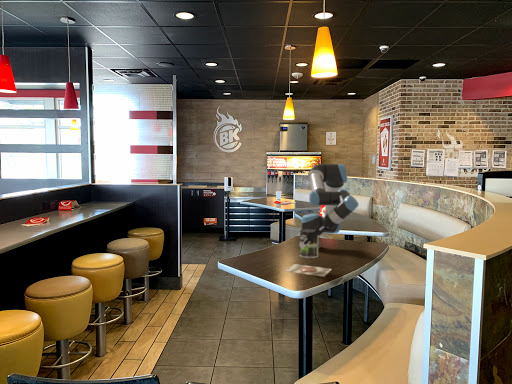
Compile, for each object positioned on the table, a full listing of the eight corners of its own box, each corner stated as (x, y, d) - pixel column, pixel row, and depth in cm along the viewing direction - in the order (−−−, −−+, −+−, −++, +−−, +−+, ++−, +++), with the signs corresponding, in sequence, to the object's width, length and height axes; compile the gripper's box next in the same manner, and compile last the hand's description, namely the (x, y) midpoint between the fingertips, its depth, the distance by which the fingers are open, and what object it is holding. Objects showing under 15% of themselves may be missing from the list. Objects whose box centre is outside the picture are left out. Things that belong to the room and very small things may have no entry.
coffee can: (311, 259, 207) (311, 232, 206) (295, 255, 214) (296, 230, 213) (322, 255, 215) (322, 230, 213) (306, 252, 222) (307, 228, 220)
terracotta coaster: (298, 270, 213) (298, 270, 213) (303, 266, 221) (303, 266, 221) (314, 273, 209) (314, 272, 209) (318, 269, 218) (318, 268, 218)
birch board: (284, 272, 213) (284, 270, 213) (294, 265, 227) (294, 264, 227) (324, 278, 204) (324, 276, 204) (331, 270, 218) (331, 268, 218)
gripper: (332, 227, 196) (301, 255, 204) (342, 221, 216) (314, 246, 224) (322, 216, 198) (292, 244, 206) (333, 211, 218) (305, 236, 226)
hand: (303, 245), depth 215 cm, fingers closed on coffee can, 10 cm apart
